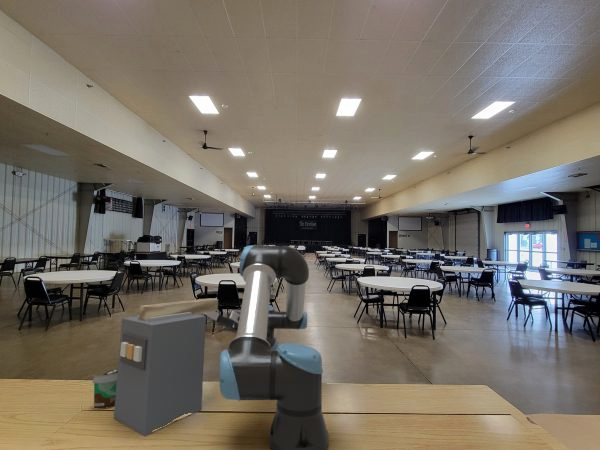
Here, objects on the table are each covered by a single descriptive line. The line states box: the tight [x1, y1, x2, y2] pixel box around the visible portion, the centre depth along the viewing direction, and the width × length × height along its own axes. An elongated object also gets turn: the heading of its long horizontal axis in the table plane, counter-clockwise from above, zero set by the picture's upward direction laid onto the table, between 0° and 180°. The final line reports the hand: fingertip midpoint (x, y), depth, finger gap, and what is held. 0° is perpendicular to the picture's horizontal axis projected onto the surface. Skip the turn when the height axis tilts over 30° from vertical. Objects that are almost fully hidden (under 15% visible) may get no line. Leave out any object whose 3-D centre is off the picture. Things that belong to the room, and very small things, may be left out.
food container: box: [92, 368, 118, 409], centre depth 100 cm, size 12×6×10 cm, turn 168°
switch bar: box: [139, 297, 219, 321], centre depth 102 cm, size 4×26×4 cm, turn 146°
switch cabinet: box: [113, 312, 207, 437], centre depth 94 cm, size 16×19×29 cm
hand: (218, 312), depth 114 cm, fingers open, 13 cm apart
